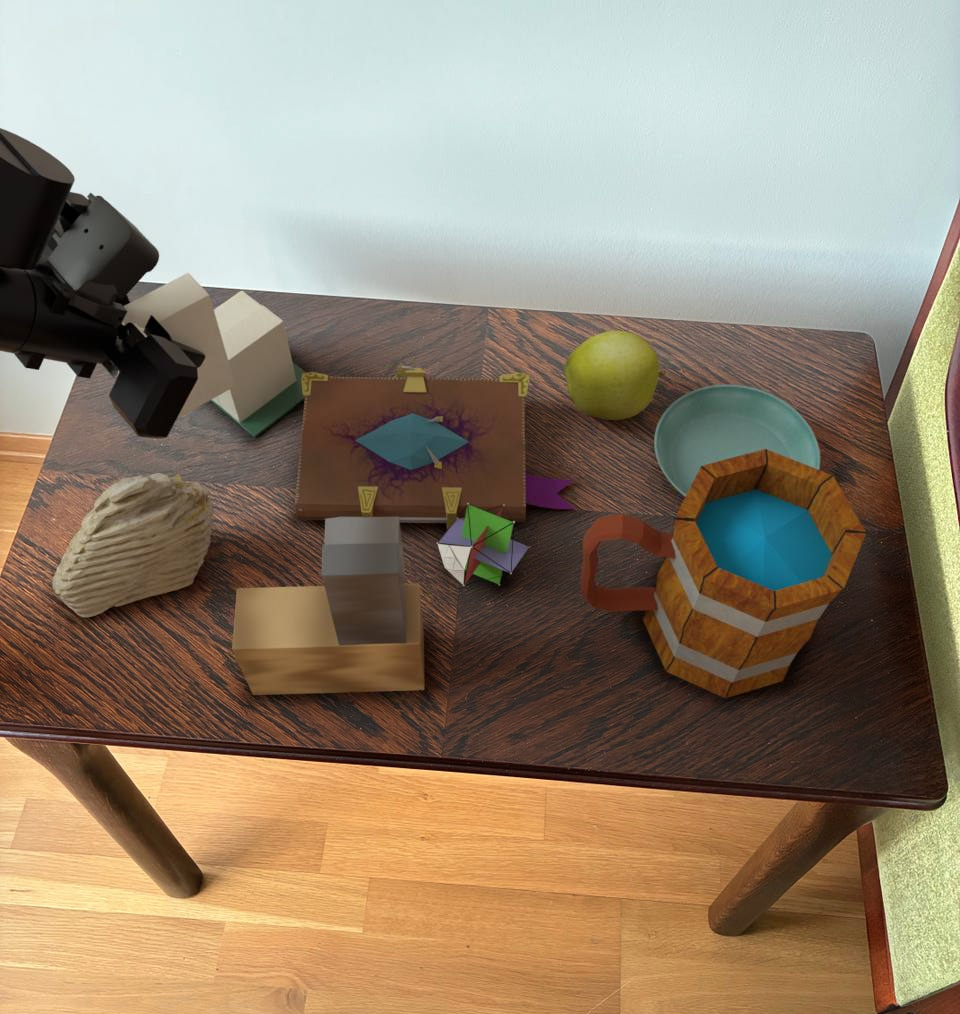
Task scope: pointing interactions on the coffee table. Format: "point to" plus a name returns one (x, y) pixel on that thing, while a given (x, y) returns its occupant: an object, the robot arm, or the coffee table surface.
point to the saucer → (728, 431)
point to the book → (416, 448)
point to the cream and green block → (257, 365)
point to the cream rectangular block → (188, 333)
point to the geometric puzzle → (480, 546)
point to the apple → (612, 375)
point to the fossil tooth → (136, 544)
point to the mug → (737, 570)
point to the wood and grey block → (337, 620)
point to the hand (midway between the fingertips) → (191, 347)
